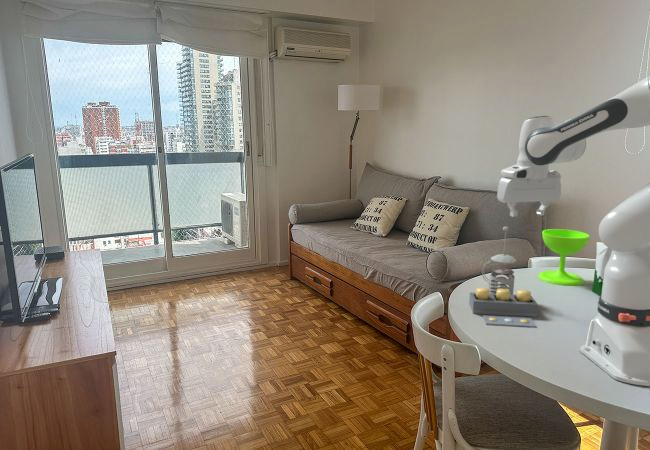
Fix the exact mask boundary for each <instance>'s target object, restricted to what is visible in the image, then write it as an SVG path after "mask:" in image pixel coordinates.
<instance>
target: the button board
mask: <svg viewBox="0 0 650 450" xmlns="http://www.w3.org/2000/svg"><path fill="white" fill-rule="evenodd" d="M516 298H517V294H514V293H513V294H510V299H509V301H497V300H496V294H492V293H489V300H477V299H476V292H469V301H468V304H469V307H470V309H471V311H472V314H480V315H481V314H482V319H483V320H484V323H485V325H490V326H503V327H504V326H509V327H521V328H523V327H525V328H537V325H536V324H535V322H534V321H533V320H532V318H531V317H534V318H535V317H536V318H537V317H538V312H539V311H538V310H539V303H538V302H537V301H536V300H535V299H534V297H533V296H532V295H531V298H530V302H518V301H517V300H516Z"/></svg>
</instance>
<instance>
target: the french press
mask: <svg viewBox="0 0 650 450" xmlns="http://www.w3.org/2000/svg"><path fill="white" fill-rule="evenodd" d="M502 231H504V232H505V233H504V239H506V238H507V237H506V236H507V231H509V227H508V226H503V227H502ZM505 247H506V241H504V245H503V252H505V250H506V248H505ZM516 262H517V260H516V258H514V257H513V256H511V255H508V254H505V253H503V254H502V253H501V254H495V255H493V256H491V257H490V260H488V261H487V262H486V263H484V264H483V266H482V268H481V275H482V278H483V280H484V281H486V282H488V289H489V290H490V292H489V293H492V294H496V291H497V289H507V290H509V291H510V294H513V295H514V287H515V275H514V273H515V271H514V270H512V269H510V268H506V267H492V269H491V270H490V271H491V273H490V276H489V279H488V277H487V276H486V274H485V267H486V265H487V264H488V263H489V265H490V266H492V265H493V264H494V263H498V264H502V266H504V265H507V264H509V265H510V264H515V263H516Z"/></svg>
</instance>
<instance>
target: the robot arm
mask: <svg viewBox="0 0 650 450" xmlns="http://www.w3.org/2000/svg"><path fill="white" fill-rule="evenodd" d="M647 126H650V75H649V76H647V77H645V78H643V79H641V80H639V81H638V82H636V83H635V84H632V85H631V86H629V87H628V88H626V89H624V90H622V91H621V92H619V93H617V94H616V95H615V96H612V97H610V98H609V99H606V100H605V101H604V102H602V103H599V104H597V105H595V106H594V107H592V108H590V109H589V108H588V110H585V111H584V112H581V113H580V114H577V115H574V116H573V117H571V118H570V119H567V120H565V121H563V122H561V123H559V122H557V120H555V119H554V118H553V117H552V116H548V115H540V116H533V117H529V118H526V119H525V120H524V122H523V123H522V126H521V129H520V134H519V138H518V139H519V140H518V141H519V142H518V150H519V153H518V157H517V160H516V164H513V165H510V166H508V167H505V168H504V169H501V171H500V175H501V179H500V180H499V181H498V185H497V193H496V198H497V200H498V202H501V203H505V204H507V207H508V209H509V216H510V217H512V218H516V217H518V215H519V210H516V208H515V206H516V205H517V203H533V202H538V203H539V202H540V203H539V204H541V205H540V206H539V208H537V209H536V213H535V214H536V216H544V215H545V210H546V209H548V208H547V207H548V206H549V205H550V202H557V201H559V200H560V198H561V195H562V193H561V192H562V191H561V190H562V189H561V187H562V185H561V183H562V182H561V179H562V175H561V174H560V172H558V170H549V165H550V164H551V165H552V164H562V163H570V162H573V161H577V160H578V159H580V158H581V157H582V156H583V155H584V153H585V151H586V147H587V142H586V141H587V140H586V139H588V138H591V137H594V136H596V135H598V134H601V133H604V132H610V131H614V130H623V129H625V130H626V129H637V128H638V129H639V128H643V127H647ZM598 237H599V239H600V240H601V242H603V243H604V244H605V245H606V246H607V247H608V248H610V249H611V250H612V252H611V255H610V258H609V260H608V263H607V264H606V266H605V270H604V278H603V286H602V294H601V296H599V297H598V301H597V314H596V315H595V316H594V317H593V318H592V319H591V321H590V323H589V328H588V331H587V337H586V340H585V341H586V342H585V344H582V345H581V346H580V347H579V352H581V354H583V355H584V356H585V357H586V358H588V359H589V360H590V361H591V362H593V363H594V364H596V366H597V367H598V368H600V369H602V370H603V371H604V372H605V373H606V374H607V375H609V376H610V377H611V378H613V379H614V380H616V381H619V382H623V383H626V384H631V385H636V386H643V387H644V386H646V387H650V182H648V183H647V184H646V185H644V186H643V187H641V188H640V189H639V190H637V191H635V192H634V193H633V194H632V195H630V196H629V197H627V199H625V200H624V201H622V202H620V204H618V205H617V206H616V207H615V208H613V209H611V210H610V211H609V212H608V213H607V214H606V215H605V216H604V217H603V218H602V220H601V221H600V223H599V226H598Z"/></svg>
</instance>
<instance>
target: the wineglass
mask: <svg viewBox="0 0 650 450" xmlns="http://www.w3.org/2000/svg"><path fill="white" fill-rule="evenodd" d="M541 231H542V232H541V234H542V240H543V243H544V244H545V246H546V247H547V248H548V249H549V250H551V251H552V252H554V253H556V254H558V255H560V257H559V264H558V265H559V266H558V270H545V271H541V272H539V273H538V275H537V278H538V279H539V280H541V281H543V282H545V283H548V284H552V285H557V286H564V287H565V286H567V287H577V286H581V285H584V284H585V280H584V278H582V276H579V275H577V274H575V273H571V272H567V271H566V270H565V266H566V258H567V255H573V254H576V253H579V252H580V251H582V250H583V249H584V248H585V247H586V246H587V245H588V243H589V240H590V234H588V233H586V232H582V231H579V230H573V229H562V228H561V229H560V228H559V229H558V228H550V229H548V228H547V229H544V230H541ZM583 283H584V284H583Z"/></svg>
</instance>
